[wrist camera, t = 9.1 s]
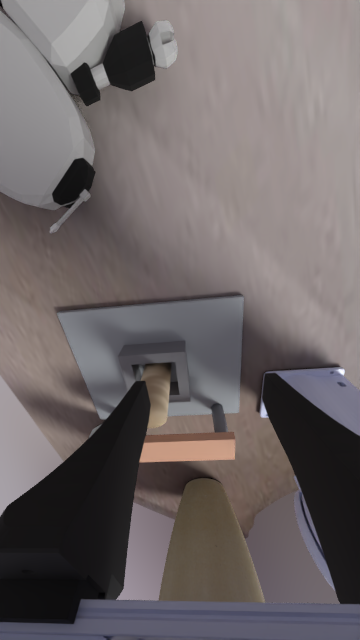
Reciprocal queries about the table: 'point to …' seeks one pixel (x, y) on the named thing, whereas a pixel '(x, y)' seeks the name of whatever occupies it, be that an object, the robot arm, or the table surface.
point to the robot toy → (64, 90)
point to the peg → (157, 391)
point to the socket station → (159, 347)
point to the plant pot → (208, 550)
